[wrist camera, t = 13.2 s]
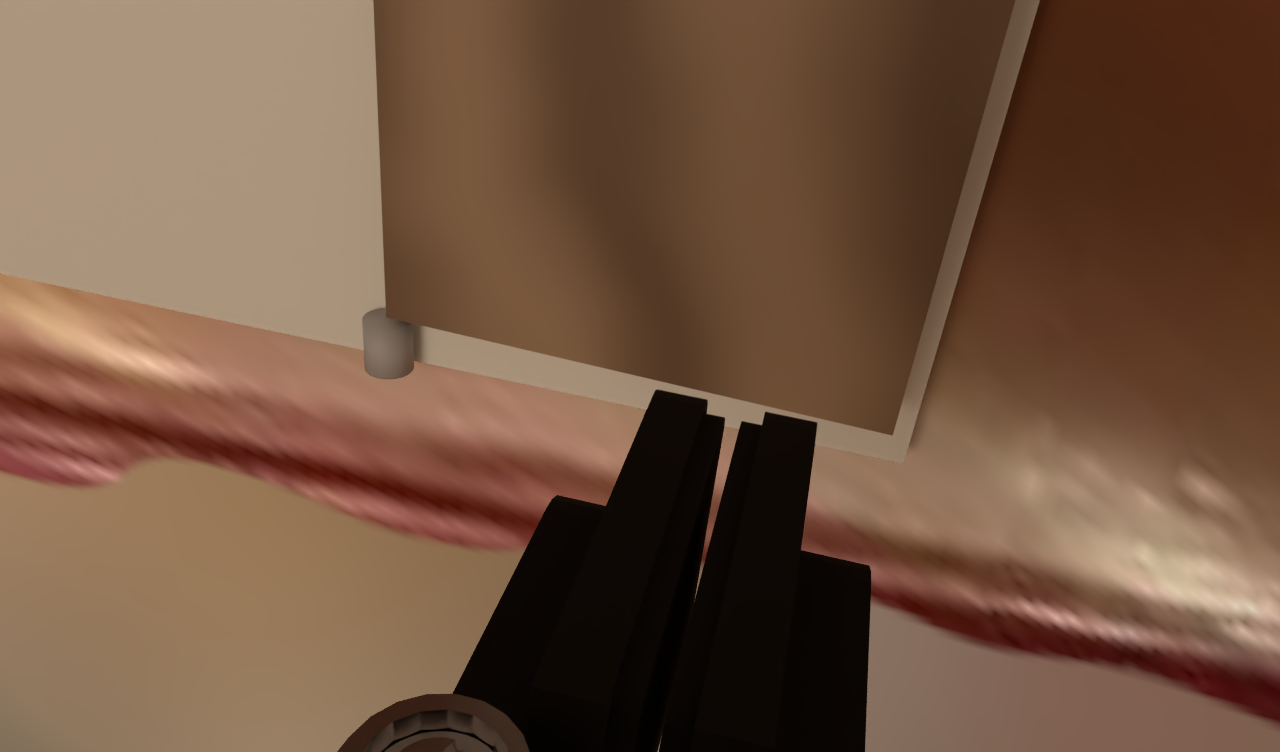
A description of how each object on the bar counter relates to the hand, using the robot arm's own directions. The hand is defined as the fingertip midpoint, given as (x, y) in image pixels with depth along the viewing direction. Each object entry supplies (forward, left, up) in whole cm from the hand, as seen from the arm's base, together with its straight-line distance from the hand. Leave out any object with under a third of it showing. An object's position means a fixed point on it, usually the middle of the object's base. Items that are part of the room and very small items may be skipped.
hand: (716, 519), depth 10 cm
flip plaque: (+3, -2, -13) cm, 14 cm away
